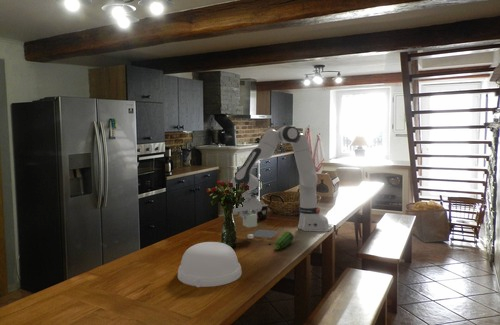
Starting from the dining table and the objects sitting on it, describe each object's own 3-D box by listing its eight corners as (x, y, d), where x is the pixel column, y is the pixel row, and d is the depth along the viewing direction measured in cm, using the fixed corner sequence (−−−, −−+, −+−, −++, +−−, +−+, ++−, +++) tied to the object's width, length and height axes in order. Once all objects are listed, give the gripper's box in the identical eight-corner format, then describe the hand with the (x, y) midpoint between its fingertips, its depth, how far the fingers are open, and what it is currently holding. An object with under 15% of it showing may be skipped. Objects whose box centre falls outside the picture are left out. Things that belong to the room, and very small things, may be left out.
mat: (279, 232, 254) (279, 231, 254) (271, 238, 239) (271, 237, 239) (259, 230, 259) (259, 229, 259) (249, 236, 244) (249, 235, 244)
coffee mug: (268, 217, 296) (268, 204, 295) (267, 219, 287) (267, 206, 286) (253, 217, 297) (252, 204, 296) (252, 219, 288) (251, 206, 287)
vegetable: (291, 228, 231) (278, 237, 213) (297, 239, 230) (284, 249, 213) (281, 232, 234) (267, 242, 217) (286, 243, 234) (273, 254, 216)
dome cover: (193, 260, 204) (192, 234, 202) (248, 264, 197) (248, 237, 195) (165, 285, 173) (164, 254, 172) (230, 290, 166) (229, 258, 164)
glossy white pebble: (254, 238, 241) (254, 234, 241) (252, 240, 238) (252, 236, 237) (248, 237, 242) (248, 234, 242) (246, 239, 239) (246, 235, 239)
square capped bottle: (252, 223, 244) (251, 208, 243) (257, 226, 238) (256, 210, 237) (242, 225, 241) (242, 209, 240) (247, 227, 235) (247, 211, 234)
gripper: (229, 198, 239) (236, 217, 231) (258, 195, 248) (266, 213, 241) (226, 204, 243) (233, 223, 236) (255, 200, 253) (262, 218, 245)
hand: (250, 218), depth 238 cm, fingers closed on square capped bottle, 6 cm apart
